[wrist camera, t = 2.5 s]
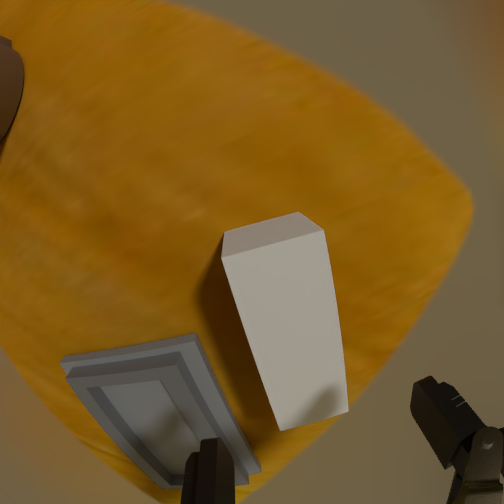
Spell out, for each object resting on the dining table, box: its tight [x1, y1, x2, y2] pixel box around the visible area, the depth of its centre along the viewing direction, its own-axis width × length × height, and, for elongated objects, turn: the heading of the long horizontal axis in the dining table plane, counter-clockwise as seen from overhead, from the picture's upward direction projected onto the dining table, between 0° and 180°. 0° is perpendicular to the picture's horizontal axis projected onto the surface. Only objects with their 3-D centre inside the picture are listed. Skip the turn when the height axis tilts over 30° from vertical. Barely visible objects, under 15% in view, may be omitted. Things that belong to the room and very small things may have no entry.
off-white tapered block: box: [221, 212, 348, 431], centre depth 16 cm, size 4×12×5 cm, turn 15°
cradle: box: [60, 333, 261, 489], centre depth 20 cm, size 12×18×2 cm, turn 15°
